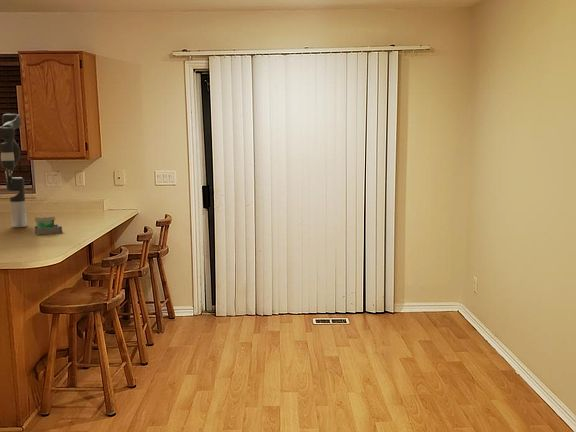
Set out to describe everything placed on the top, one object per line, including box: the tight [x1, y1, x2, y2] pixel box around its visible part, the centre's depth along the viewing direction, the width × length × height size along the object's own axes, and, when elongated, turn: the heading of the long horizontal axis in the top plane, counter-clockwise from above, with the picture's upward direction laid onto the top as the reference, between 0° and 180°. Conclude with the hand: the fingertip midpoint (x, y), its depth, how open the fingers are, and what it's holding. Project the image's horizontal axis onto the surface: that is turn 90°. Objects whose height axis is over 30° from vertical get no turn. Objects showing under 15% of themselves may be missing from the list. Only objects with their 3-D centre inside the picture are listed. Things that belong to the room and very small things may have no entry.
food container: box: [34, 216, 56, 228], centre depth 374 cm, size 12×6×10 cm, turn 98°
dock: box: [34, 223, 63, 236], centre depth 376 cm, size 12×14×4 cm
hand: (9, 187), depth 373 cm, fingers closed
